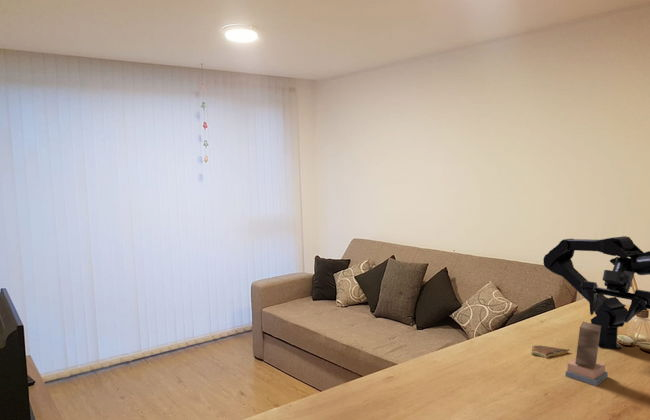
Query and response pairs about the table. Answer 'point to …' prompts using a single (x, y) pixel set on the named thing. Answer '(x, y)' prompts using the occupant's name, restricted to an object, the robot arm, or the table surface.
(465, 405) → the table surface
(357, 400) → the table surface
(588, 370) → the terracotta top slab
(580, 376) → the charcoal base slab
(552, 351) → the shard
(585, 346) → the walnut pillar
